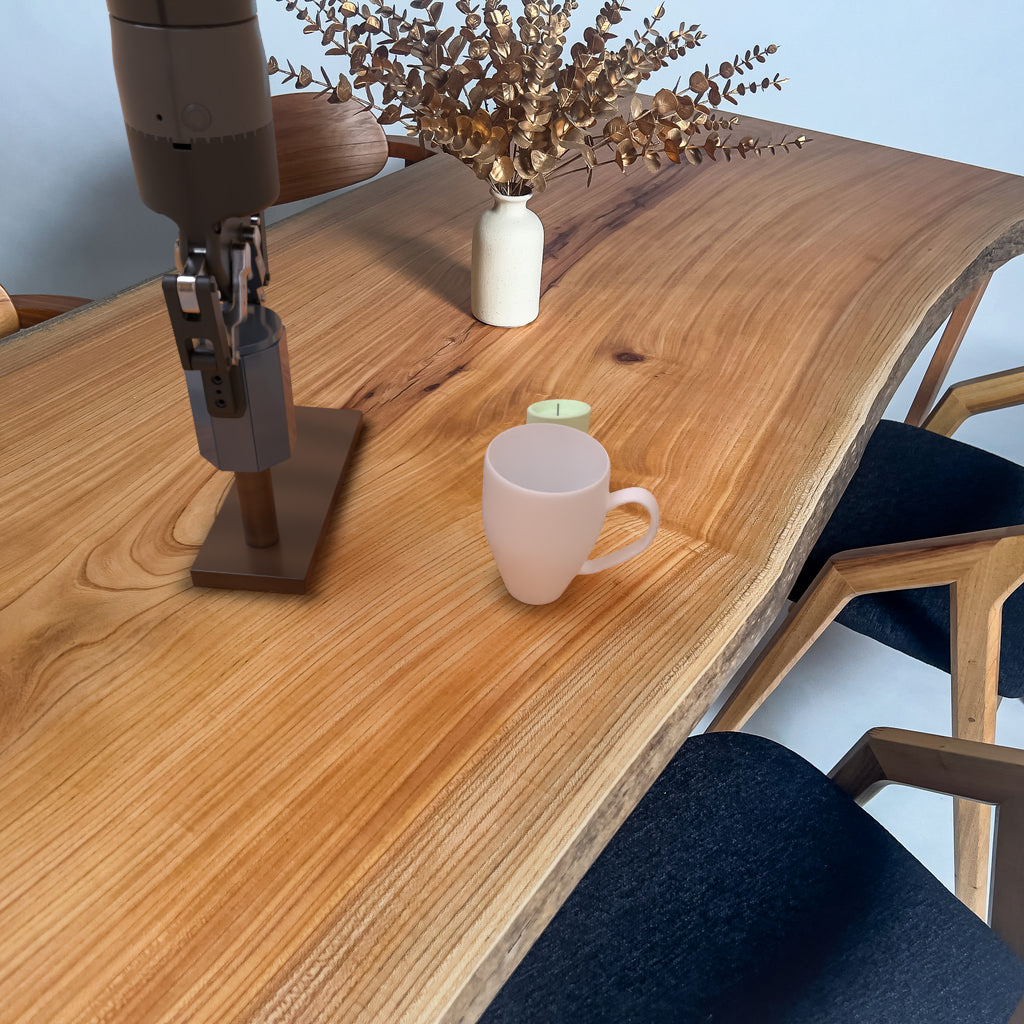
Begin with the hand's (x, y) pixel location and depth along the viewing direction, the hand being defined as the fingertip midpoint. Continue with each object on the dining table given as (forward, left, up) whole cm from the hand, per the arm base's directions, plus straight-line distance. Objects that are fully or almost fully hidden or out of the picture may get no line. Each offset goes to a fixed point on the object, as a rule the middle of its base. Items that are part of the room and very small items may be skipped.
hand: (239, 386), depth 58 cm
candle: (+22, -8, -14) cm, 28 cm away
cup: (0, 0, -5) cm, 5 cm away
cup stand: (+5, +5, -14) cm, 16 cm away
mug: (+13, -17, -14) cm, 26 cm away
